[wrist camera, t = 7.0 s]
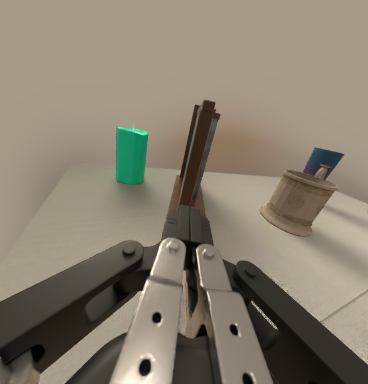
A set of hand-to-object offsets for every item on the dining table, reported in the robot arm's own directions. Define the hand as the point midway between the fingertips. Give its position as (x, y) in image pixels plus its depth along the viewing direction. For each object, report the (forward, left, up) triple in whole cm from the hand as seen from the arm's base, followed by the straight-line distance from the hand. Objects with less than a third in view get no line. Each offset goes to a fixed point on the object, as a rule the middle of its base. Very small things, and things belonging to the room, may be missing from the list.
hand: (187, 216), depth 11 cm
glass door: (0, +11, -6) cm, 12 cm away
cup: (+39, +36, -8) cm, 54 cm away
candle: (-12, +22, -8) cm, 27 cm away
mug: (+24, +19, -8) cm, 32 cm away
